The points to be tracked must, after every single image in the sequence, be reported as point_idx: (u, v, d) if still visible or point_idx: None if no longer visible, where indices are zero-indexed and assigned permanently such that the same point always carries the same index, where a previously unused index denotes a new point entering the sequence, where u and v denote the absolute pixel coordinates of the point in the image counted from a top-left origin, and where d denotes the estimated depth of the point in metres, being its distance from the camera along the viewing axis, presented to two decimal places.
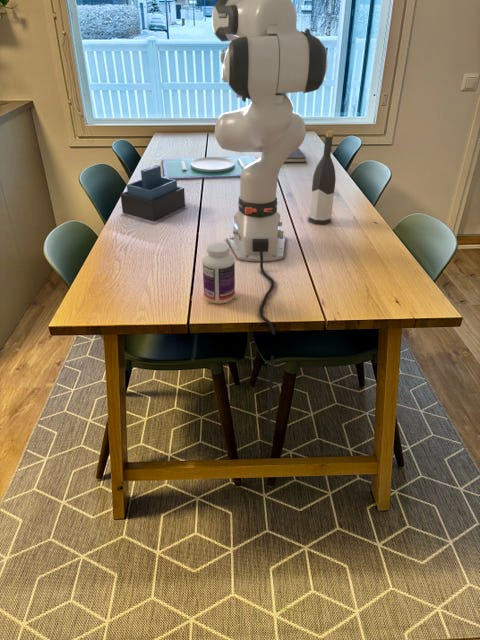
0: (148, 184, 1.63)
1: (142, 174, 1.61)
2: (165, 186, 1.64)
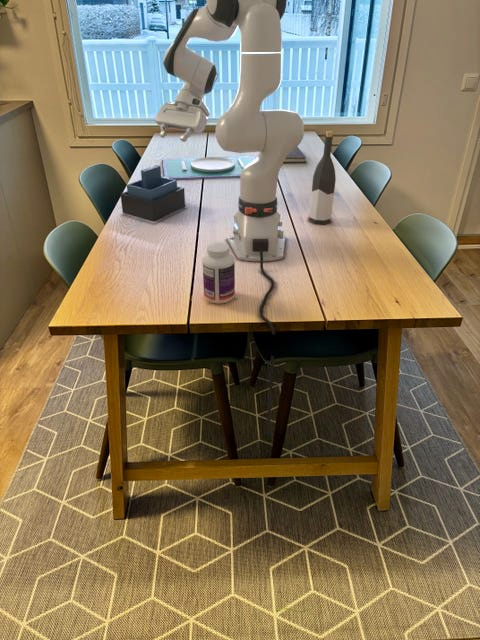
0: (148, 184, 1.63)
1: (142, 174, 1.61)
2: (165, 186, 1.64)
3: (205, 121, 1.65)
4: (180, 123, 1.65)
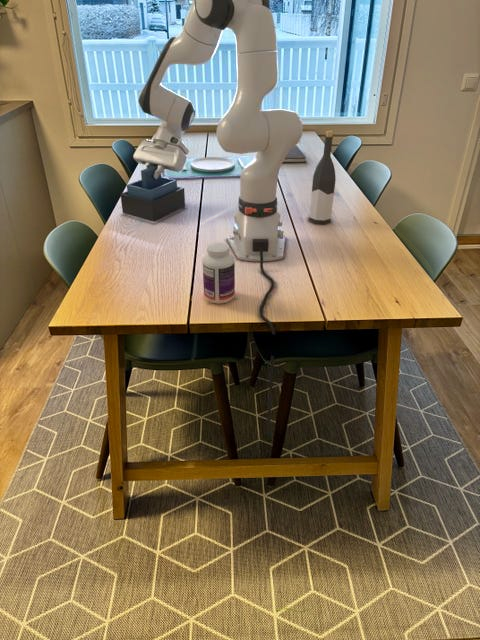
0: (148, 184, 1.63)
1: (142, 174, 1.61)
2: (165, 186, 1.64)
3: (184, 160, 1.62)
4: (158, 161, 1.62)
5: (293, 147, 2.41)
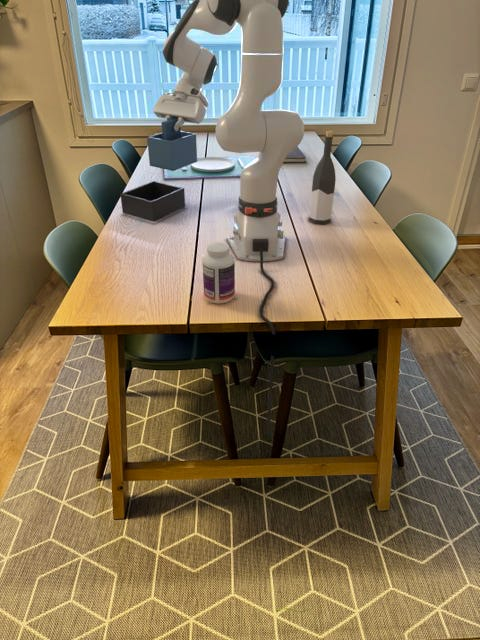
0: (169, 136, 1.65)
1: (163, 126, 1.62)
2: (185, 138, 1.65)
3: (204, 111, 1.63)
4: (179, 113, 1.63)
5: None
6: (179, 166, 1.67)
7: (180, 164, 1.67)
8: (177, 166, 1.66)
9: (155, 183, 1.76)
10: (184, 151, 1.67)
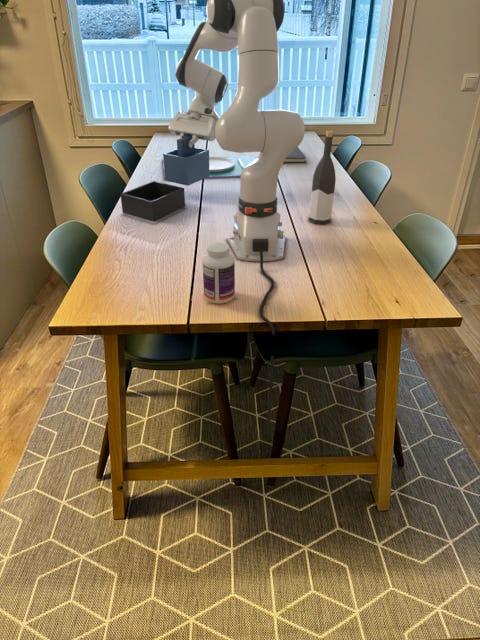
0: (183, 153, 1.74)
1: (178, 143, 1.72)
2: (199, 155, 1.75)
3: None
4: (193, 131, 1.73)
5: None
6: (193, 181, 1.77)
7: (194, 179, 1.77)
8: (191, 181, 1.76)
9: (155, 183, 1.76)
10: (198, 167, 1.76)
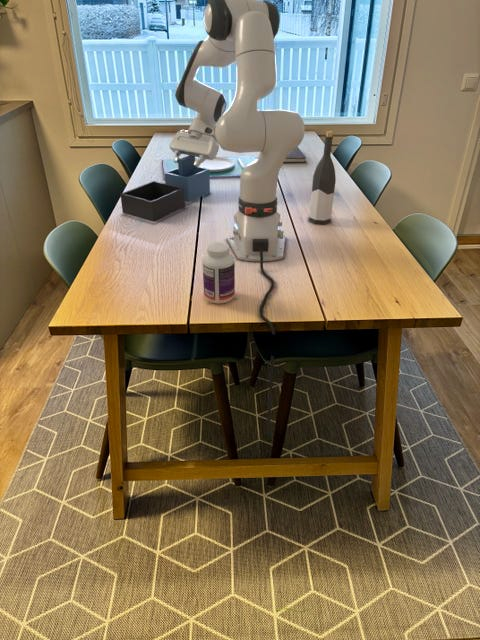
0: (184, 172, 1.78)
1: (179, 163, 1.76)
2: (199, 174, 1.79)
3: (217, 148, 1.76)
4: (194, 150, 1.76)
5: None
6: (194, 199, 1.81)
7: (195, 197, 1.81)
8: (192, 199, 1.80)
9: (155, 183, 1.76)
10: (198, 185, 1.80)
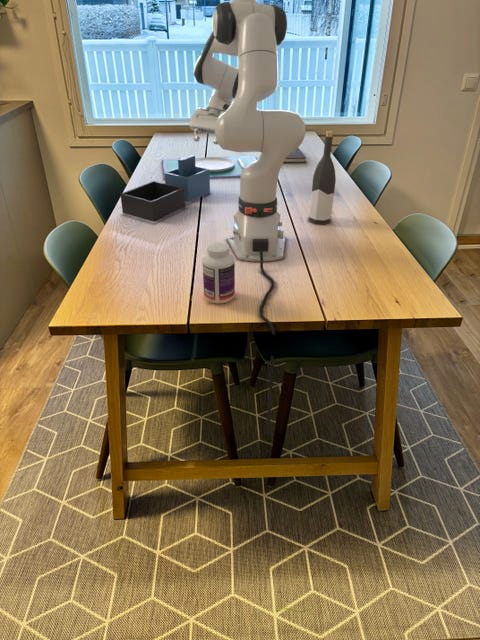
0: (184, 172, 1.78)
1: (179, 163, 1.76)
2: (199, 174, 1.79)
3: None
4: (213, 127, 1.81)
5: None
6: (194, 199, 1.81)
7: (195, 197, 1.81)
8: (192, 199, 1.80)
9: (155, 183, 1.76)
10: (198, 185, 1.80)
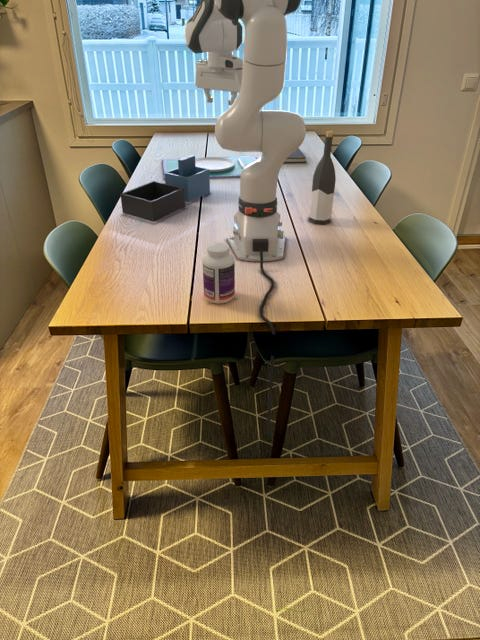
0: (184, 172, 1.78)
1: (179, 163, 1.76)
2: (199, 174, 1.79)
3: None
4: (222, 88, 1.66)
5: None
6: (194, 199, 1.81)
7: (195, 197, 1.81)
8: (192, 199, 1.80)
9: (155, 183, 1.76)
10: (198, 185, 1.80)
